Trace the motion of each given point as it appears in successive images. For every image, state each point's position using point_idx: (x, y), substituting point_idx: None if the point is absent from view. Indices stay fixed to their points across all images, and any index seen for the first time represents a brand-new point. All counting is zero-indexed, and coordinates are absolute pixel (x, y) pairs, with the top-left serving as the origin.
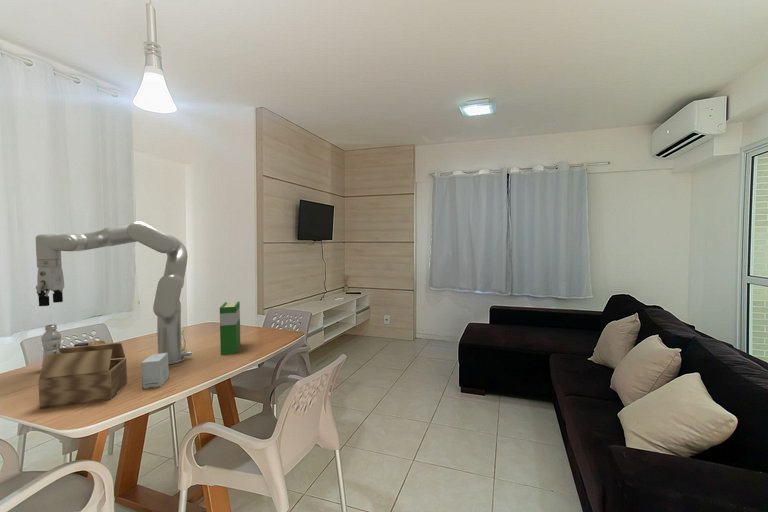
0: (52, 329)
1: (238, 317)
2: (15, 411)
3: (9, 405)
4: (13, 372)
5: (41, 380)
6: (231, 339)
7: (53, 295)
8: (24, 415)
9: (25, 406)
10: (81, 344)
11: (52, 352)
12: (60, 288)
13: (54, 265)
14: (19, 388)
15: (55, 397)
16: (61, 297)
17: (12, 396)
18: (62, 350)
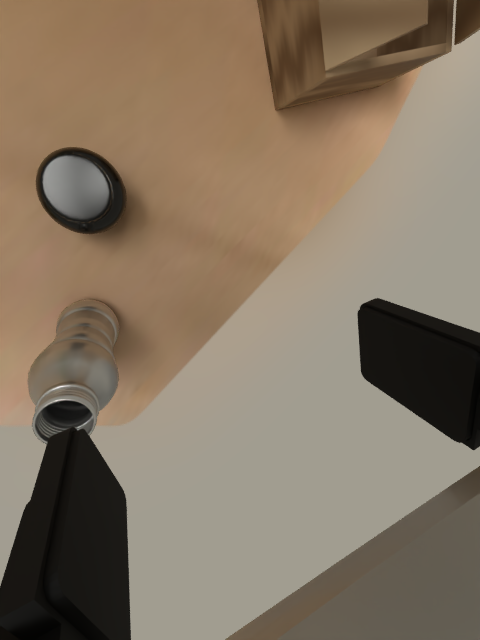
0: (83, 385)
1: None
2: (375, 143)
3: (342, 190)
4: (121, 415)
5: (448, 43)
6: None
7: (125, 609)
8: (399, 99)
9: (355, 141)
10: (92, 175)
11: (101, 328)
12: (336, 616)
13: None
14: (245, 269)
15: None
16: (71, 484)
17: (293, 236)
18: (414, 14)
